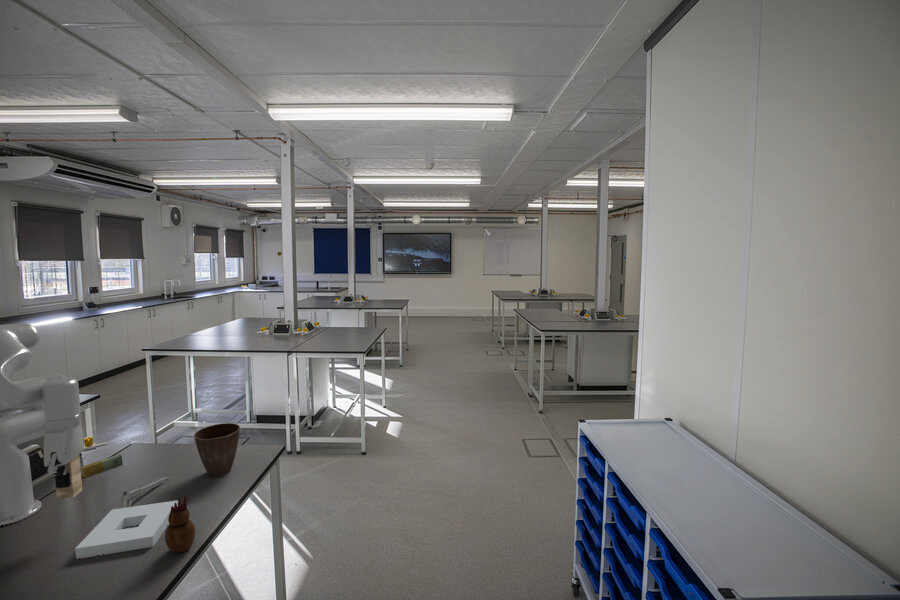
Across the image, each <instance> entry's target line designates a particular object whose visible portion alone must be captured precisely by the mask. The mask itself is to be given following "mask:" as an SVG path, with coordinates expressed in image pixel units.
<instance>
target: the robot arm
mask: <svg viewBox="0 0 900 600" xmlns="http://www.w3.org/2000/svg"><path fill="white" fill-rule="evenodd" d="M40 337H41V335H40V333H39V330H38V329H37V328H36V327H35V326H34V325H32V324H30V323H27V322H19V323H18V322H17V323H6V324H0V416H1V415H5V414H7V415H5V416H1V417H0V527H2V526H1V525H3V526H7V525H10V523H11V524H13V523H16V522H19V521H22V520H24V519H26V518H28V517H30V516H32V515H34V514H36V513H37V512H38V511H39V510H41V508H42V502H41V501H40V500H37V499H35V498H34V490H33V489H34V488H33V482H32V472H31V463H30V457H29V454H28V453H27V452H26V451H24V450H22V449H20V448H18V445H21V444H23V443H26V442H30V441H33V440H36V439H39V438H41V437H44V439H43V463H44V464H43V466H44V467H45V468H47V467H48V468H47V473H49V474H52V475H53V477H54V480H55V481H54V482H55V489H56V488H65V487H69V486H70V485H71V484H70V473H68V462H70V461H71V460H72V459H73V458H75V457H76V456H77V455H78V454H79V455H80V458H81V457H82V453H83V452H84V450H85V438H84V432H83V427H82V414H81V411H82V410H81V401H80V399H81V398H80V388H79V381H78V380H77V379H76V378H74V377H67V376H65V375H64V374H62V373H51V374H46V375H41V376H35V377H31V378H27V379H20V380H15V381H12V380H10V378H12V377H13V376H15V375H17V374H18V373H20V372H22V371H23V370H25V369H27V368H28V367H29V366H30V365H31V364H32V362H33V360H34V354H33V352H32V351H31V350H30V349H33V348H35V347H36V346H37V345H39V343H40V339H41V338H40ZM17 411H20V412H17ZM13 412H17V413H13ZM9 413H13V414H9ZM58 462H61V463H58ZM81 463H82V461H81V459H80V464H81ZM59 466H63V469H61V468H59ZM6 524H7V525H6Z"/></svg>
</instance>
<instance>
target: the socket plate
mask: <svg viewBox="0 0 900 600" xmlns="http://www.w3.org/2000/svg"><path fill="white" fill-rule="evenodd" d="M175 502H176V504H177V507H178V499H177V500H170V501H164V502H163V501H162V502H157V503H150V504H144V505H143V504H142V505H135V506H134V505H133V506H131V507H127V508H121V507H120V508H114V509H111V510H110V511H109V512H108V513H107V514H106V515H105V517H103V518H102V519H101V520H100V522H99V523H98V524H97V525H96V526H95V527H94V528H93V529H92V530H91V531H90V532H89V533H88V534H87V535H86V537H85V538H83V540H82V541H81V542H80V543H79V544H78V545H77V546H76V547H75V548H74V550H75V559H76V560H79V558H80V559H85V558H91V557H97V555H99V556H103V554H104V555H110V554H115V553H117V554H118V553H123V552H128V551H134V550H142V549H147V548H153V547H154V546H155V545H156V543H157V542H158V541H159V540H160V538H161V536H162V534H163V533H164V531H166V530H167V527H168V526H169V525H170V524H169V522H168V517H169V514H170V511H171V506H173V507H174V503H175ZM137 525H138V526H137ZM167 525H168V526H167ZM131 526H132V527H131ZM124 528H125V529H124Z"/></svg>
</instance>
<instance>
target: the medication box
mask: <svg viewBox="0 0 900 600" xmlns="http://www.w3.org/2000/svg"><path fill="white" fill-rule="evenodd" d="M122 457H123V456H122V455H121V454H120V453H119V454H116V455H113V456H110V457H107V458H104V459H101V460H98V461H96V462H92V463H89V464H86V465H83V466H80V468H81V478H84V479H86V478H89V477H92V476H94V475H97V474H100V473H103V472H106V471H110V470H112V469H115V468H118V467H120V466H123V464H124V463H123V458H122Z"/></svg>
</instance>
